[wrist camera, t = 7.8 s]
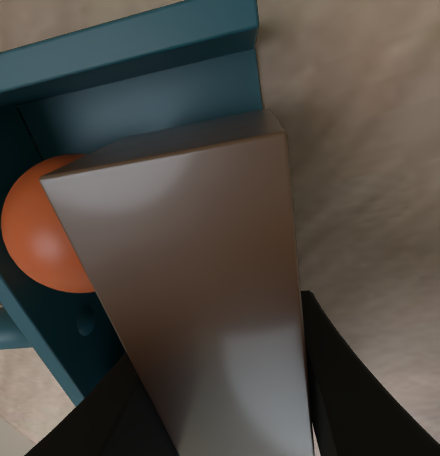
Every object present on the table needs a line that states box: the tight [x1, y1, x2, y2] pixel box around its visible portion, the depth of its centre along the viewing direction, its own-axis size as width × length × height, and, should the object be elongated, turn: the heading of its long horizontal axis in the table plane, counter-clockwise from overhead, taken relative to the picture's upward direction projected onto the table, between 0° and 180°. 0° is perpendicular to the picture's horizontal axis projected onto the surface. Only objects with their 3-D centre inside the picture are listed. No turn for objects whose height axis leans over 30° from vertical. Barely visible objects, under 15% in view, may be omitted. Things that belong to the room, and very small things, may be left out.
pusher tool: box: [0, 0, 262, 456], centre depth 11 cm, size 15×16×4 cm
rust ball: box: [1, 153, 95, 293], centre depth 8 cm, size 4×4×4 cm
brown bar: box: [39, 108, 315, 456], centre depth 8 cm, size 12×3×5 cm, turn 11°
